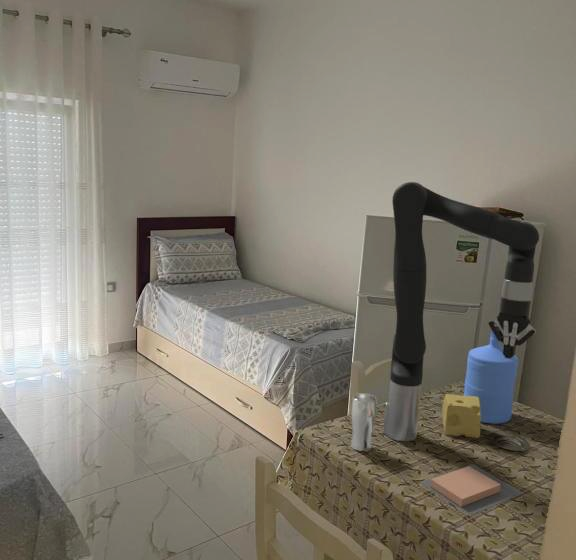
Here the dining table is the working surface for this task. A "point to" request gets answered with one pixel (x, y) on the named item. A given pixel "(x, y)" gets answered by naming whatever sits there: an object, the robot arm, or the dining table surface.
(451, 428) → the cheese
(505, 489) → the mat
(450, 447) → the dining table surface
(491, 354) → the water jug
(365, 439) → the beer glass
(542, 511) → the dining table surface
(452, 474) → the tile
